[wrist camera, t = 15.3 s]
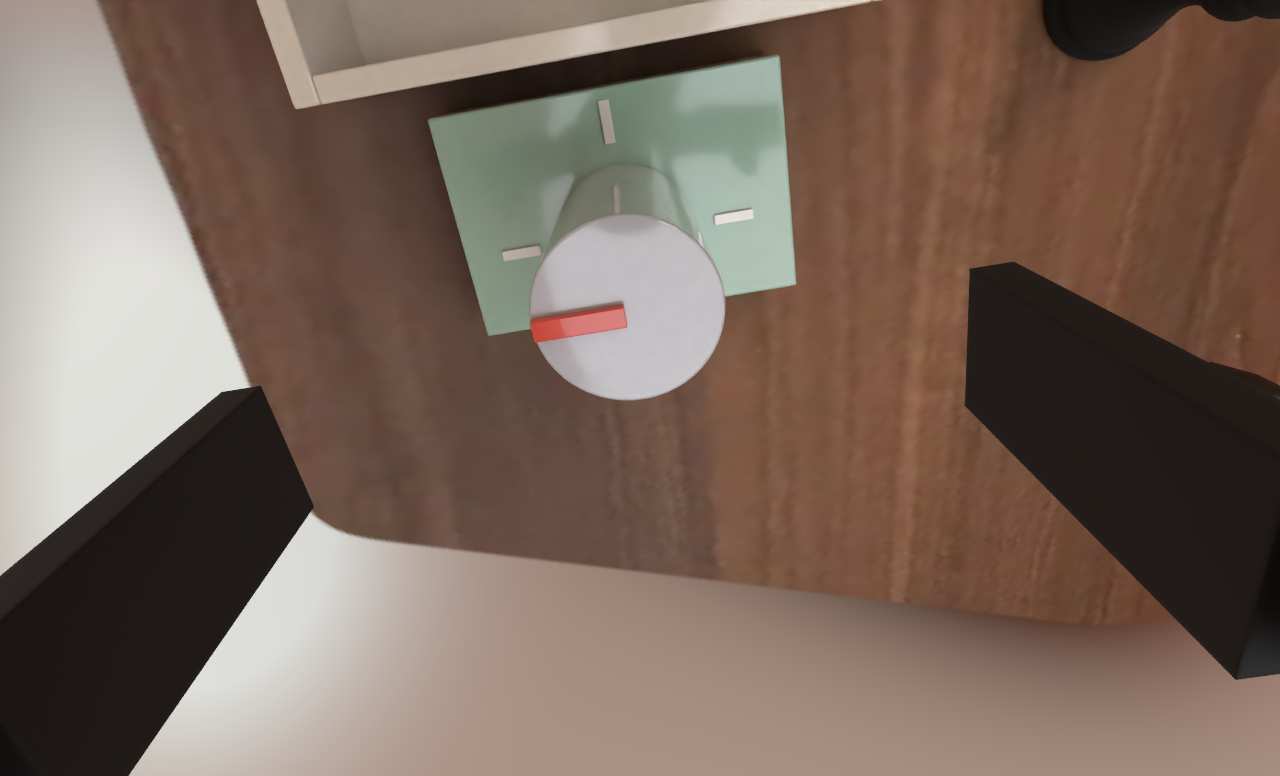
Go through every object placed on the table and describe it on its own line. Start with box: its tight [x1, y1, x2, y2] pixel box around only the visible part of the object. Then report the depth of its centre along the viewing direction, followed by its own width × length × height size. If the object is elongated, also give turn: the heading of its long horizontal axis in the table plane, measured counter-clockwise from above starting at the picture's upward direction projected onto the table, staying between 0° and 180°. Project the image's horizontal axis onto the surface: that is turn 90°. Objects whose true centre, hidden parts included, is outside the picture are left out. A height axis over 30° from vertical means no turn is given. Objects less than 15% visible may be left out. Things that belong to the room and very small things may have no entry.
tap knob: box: [529, 164, 726, 400], centre depth 21 cm, size 5×5×9 cm
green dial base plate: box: [428, 54, 797, 336], centre depth 26 cm, size 12×10×3 cm
